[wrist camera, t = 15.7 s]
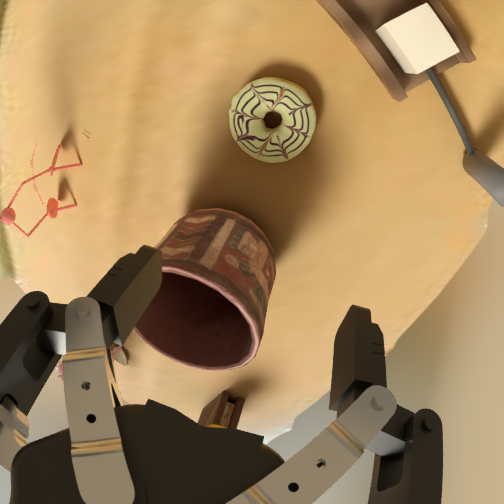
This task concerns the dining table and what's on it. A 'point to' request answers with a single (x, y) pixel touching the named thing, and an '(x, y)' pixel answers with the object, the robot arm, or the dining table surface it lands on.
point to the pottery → (211, 291)
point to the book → (222, 412)
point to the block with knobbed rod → (437, 80)
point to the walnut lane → (373, 49)
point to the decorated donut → (258, 105)
